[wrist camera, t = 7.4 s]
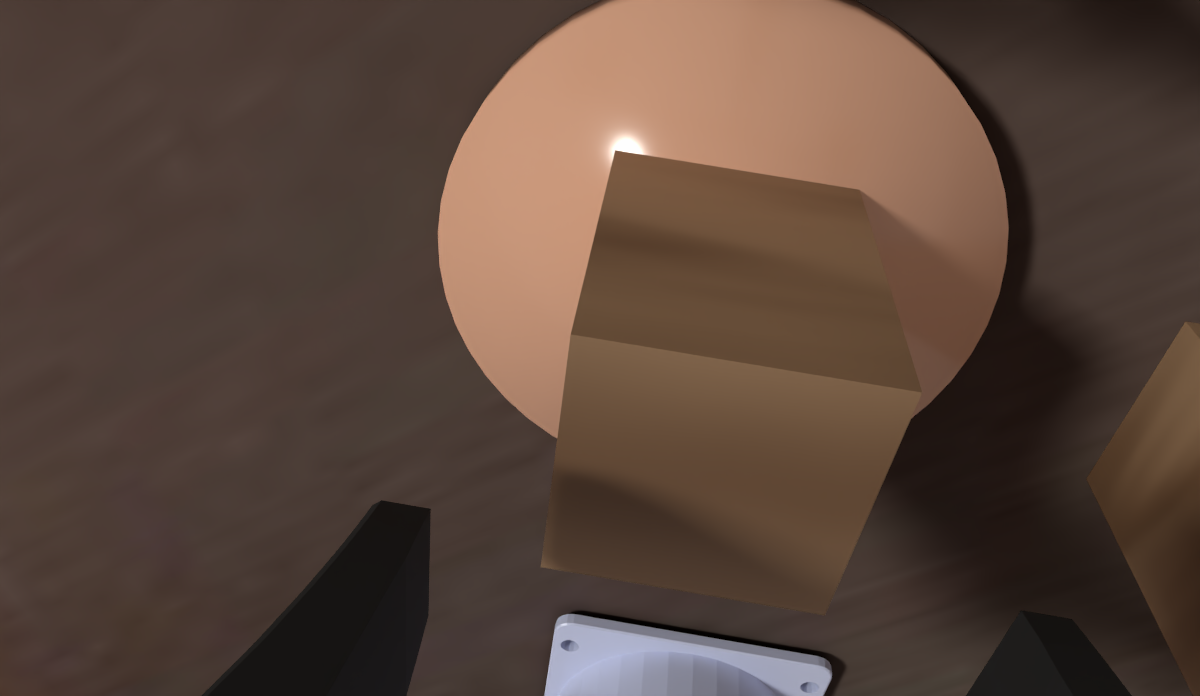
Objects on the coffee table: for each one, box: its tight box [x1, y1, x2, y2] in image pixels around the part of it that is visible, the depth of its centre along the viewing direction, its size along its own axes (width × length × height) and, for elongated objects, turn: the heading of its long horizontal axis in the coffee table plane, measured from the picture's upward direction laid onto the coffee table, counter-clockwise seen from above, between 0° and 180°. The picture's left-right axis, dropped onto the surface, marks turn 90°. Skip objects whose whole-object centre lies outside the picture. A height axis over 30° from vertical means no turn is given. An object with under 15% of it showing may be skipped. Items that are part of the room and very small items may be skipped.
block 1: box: [541, 150, 922, 615], centre depth 15 cm, size 4×4×6 cm
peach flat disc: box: [438, 0, 1009, 438], centre depth 18 cm, size 11×11×1 cm
